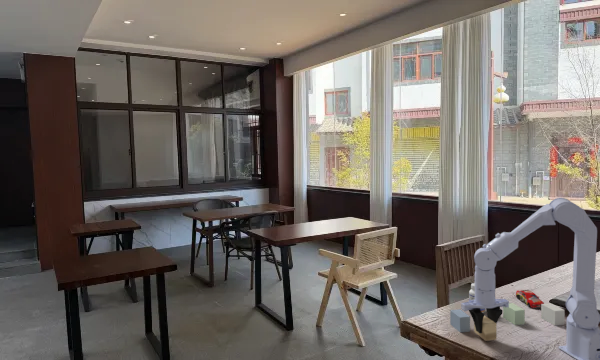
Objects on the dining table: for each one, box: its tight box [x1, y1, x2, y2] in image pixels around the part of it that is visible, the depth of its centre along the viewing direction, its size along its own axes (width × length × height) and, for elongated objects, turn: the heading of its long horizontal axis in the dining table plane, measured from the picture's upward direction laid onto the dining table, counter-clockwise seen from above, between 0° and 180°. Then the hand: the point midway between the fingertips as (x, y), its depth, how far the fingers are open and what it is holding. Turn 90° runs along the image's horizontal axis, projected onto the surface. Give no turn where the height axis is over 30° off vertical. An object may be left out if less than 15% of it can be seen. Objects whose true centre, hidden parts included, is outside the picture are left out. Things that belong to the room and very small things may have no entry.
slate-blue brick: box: [449, 308, 471, 333], centre depth 129 cm, size 6×4×5 cm, turn 8°
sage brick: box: [502, 302, 526, 326], centre depth 133 cm, size 6×4×5 cm, turn 8°
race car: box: [515, 289, 545, 309], centre depth 148 cm, size 13×5×4 cm, turn 176°
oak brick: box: [473, 315, 497, 342], centre depth 121 cm, size 6×4×5 cm, turn 8°
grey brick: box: [540, 302, 566, 327], centre depth 132 cm, size 6×4×5 cm, turn 8°
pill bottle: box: [468, 282, 487, 314], centre depth 142 cm, size 5×5×10 cm
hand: (485, 331), depth 121 cm, fingers closed on oak brick, 3 cm apart
